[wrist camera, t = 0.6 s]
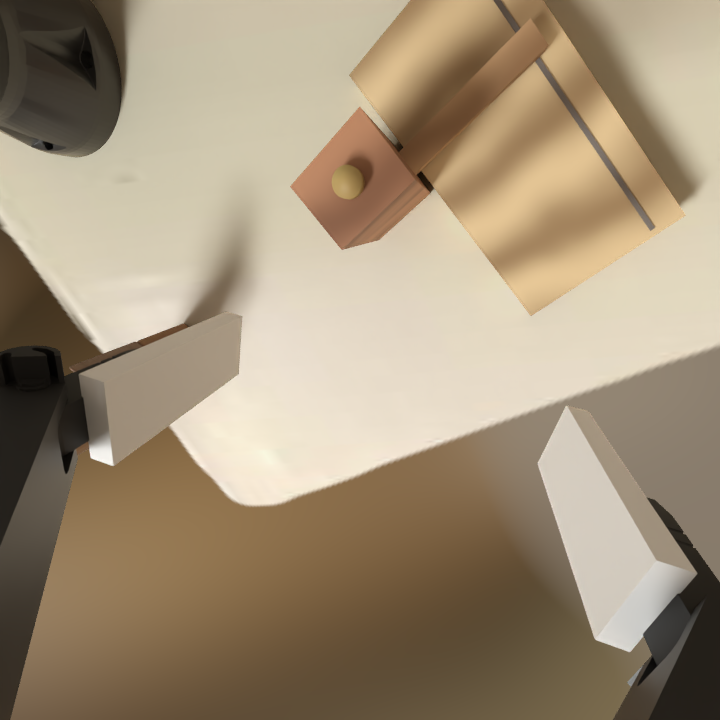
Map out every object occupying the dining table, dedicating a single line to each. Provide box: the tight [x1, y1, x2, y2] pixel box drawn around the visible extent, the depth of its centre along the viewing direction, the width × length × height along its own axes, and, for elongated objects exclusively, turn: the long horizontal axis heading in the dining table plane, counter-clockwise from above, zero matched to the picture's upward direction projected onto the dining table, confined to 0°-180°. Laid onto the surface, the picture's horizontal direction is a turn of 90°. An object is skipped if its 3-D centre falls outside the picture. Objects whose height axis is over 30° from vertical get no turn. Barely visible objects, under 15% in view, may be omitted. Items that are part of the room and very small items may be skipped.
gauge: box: [290, 18, 548, 250], centre depth 25 cm, size 5×17×13 cm, turn 131°
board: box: [349, 0, 685, 316], centre depth 28 cm, size 24×12×3 cm, turn 41°
